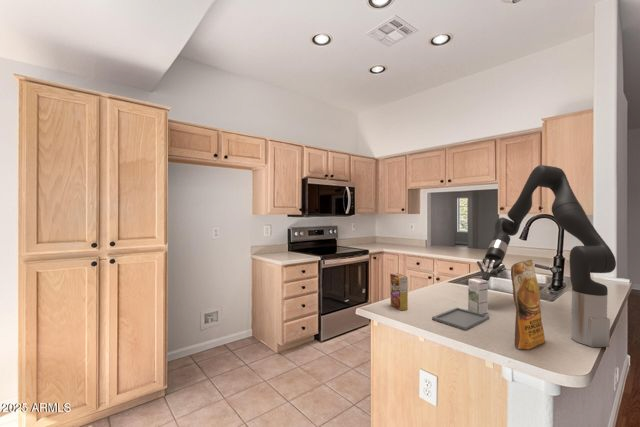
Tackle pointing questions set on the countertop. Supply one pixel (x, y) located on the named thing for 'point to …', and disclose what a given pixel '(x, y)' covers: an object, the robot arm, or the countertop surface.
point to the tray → (460, 318)
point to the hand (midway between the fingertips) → (484, 280)
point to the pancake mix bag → (527, 306)
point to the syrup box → (478, 295)
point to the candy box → (399, 291)
